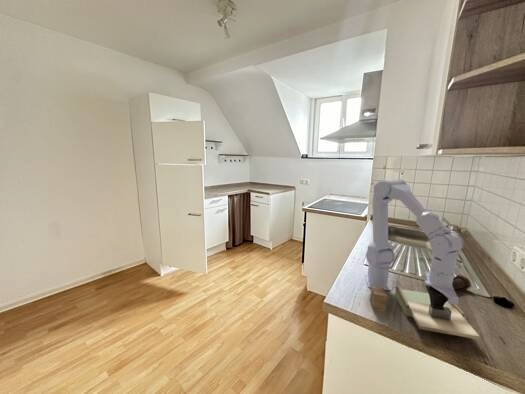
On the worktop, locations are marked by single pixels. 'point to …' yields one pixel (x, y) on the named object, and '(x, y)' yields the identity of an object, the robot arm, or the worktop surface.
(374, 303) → the block
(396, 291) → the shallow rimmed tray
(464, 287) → the bolt
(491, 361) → the worktop surface
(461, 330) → the lid
